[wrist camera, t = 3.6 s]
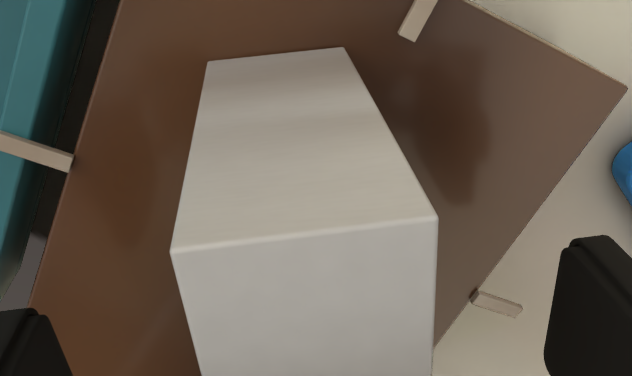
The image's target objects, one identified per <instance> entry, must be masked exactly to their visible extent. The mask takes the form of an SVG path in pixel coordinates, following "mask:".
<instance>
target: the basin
mask: <svg viewBox="0 0 632 376" xmlns="http://www.w3.org/2000/svg"><path fill="white" fill-rule="evenodd" d="M95 4H96V0H0V130H1V131H4V132H7V133H10V134H13V135H16V136H19V137H22V138H25V139H28V140H31V141H34V142H37V143H40V144H43V145H46V146H49V147H52V148H55V144H56V141H57V137H58V134H59V130H60V127H61V123H62V120H63V116H64V113H65V109H66V106H67V102H68V99H69V95H70V92H71V88H72V85H73V81H74V78H75V74H76V71H77V67H78V64H79V60H80V57H81V53H82V50H83V46H84V43H85V39H86V36H87V32H88V29H89V25H90V22H91V18H92V15H93V11H94V8H95ZM48 169H49V166H46V165H42V164H39V163H36V162H33V161H30V160H27V159H24V158H21V157H18V156H15V155H12V154H9V153H6V152H2V151H0V302H1V300H2V298H3V296H4V295H5V293H6V291H7V289H8V287H9V285H10V284H11V282H12V280H13V279H14V276H15V275H16V274H17V272H18V270H19V269H20V266H21V263H22V260H23V256H24V253H25V249H26V246H27V242H28V239H29V235H30V232H31V228H32V225H33V221H34V218H35V214H36V211H37V207H38V204H39V200H40V197H41V193H42V190H43V186H44V183H45V179H46V176H47V172H48Z"/></svg>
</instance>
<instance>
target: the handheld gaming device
mask: <svg viewBox="0 0 632 376" xmlns="http://www.w3.org/2000/svg"><path fill="white" fill-rule="evenodd" d="M612 173H613V176H614V179H615V180H616V182H617V183H618V185H619V187H620V188H621V190H622V192H623V193H624V195H625V196H626V198H627V200H628V201H629V203H630V205H631V206H632V142H630V143H629V144H627V145H626V146H625V147H624V148H623V149H621V150H620V151H619V153H618V154H617V156H616V157H615V159H614V161H613V164H612Z"/></svg>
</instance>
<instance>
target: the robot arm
mask: <svg viewBox="0 0 632 376" xmlns="http://www.w3.org/2000/svg"><path fill="white" fill-rule="evenodd" d="M544 361H545V365H546V368H547V370H548V372H549V374H550V375H551V376H632V258H631V257H630V256H629V255H628V254H627V253H626V252H625V251H624V250H623V249H622V248H621V247H620V246H619V245H618V244H617V243H616V242H615V241H614V240H613V239H611V238H610V237H609V236H606V235H600V236H592V237H584V238H576V239H573V240H572V241H571V242H570V245H569V247H568V248H564V249H563V250H562V252H561V256H560V262H559V267H558V273H557V279H556V284H555V290H554V296H553V301H552V307H551V313H550V318H549V324H548V330H547V335H546V341H545V347H544ZM0 376H73V374H72V372H71V369H70V367H69V365H68V362H67V360H66V358H65V355H64V353H63V350H62V348H61V346H60V343H59V341H58V339H57V336H56V334H55V331H54V329H53V327H52V324H51V322H50V320H49V318H48V316H46V315H43V314H42V315H39V314H38V312H37V311H36V310H35V309H34V308H24V309H16V310H8V311H1V312H0Z"/></svg>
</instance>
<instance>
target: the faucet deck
mask: <svg viewBox="0 0 632 376" xmlns="http://www.w3.org/2000/svg"><path fill="white" fill-rule="evenodd" d="M337 47H344V48H345V50H346V52H347V54H348V56H349V57H350V59H351V61H352V63H353V65H354V66H355V68H356V70H357V72H358V74H359V75H360V77H361V79H362V81H363V83H364V84H365V86H366V88H367V90H368V92H369V93H370V95H371V97H372V99H373V101H374V102H375V104H376V106H377V108H378V109H379V111H380V113H381V115H382V117H383V118H384V120H385V122H386V124H387V126H388V127H389V129H390V131H391V133H392V135H393V136H394V138H395V140H396V142H397V144H398V145H399V147H400V149H401V151H402V153H403V154H404V156H405V158H406V160H407V162H408V163H409V165H410V167H411V169H412V171H413V172H414V174H415V176H416V178H417V180H418V181H419V183H420V185H421V187H422V188H423V190H424V192H425V194H426V196H427V197H428V199H429V201H430V203H431V205H432V206H433V208H434V210H435V212H436V214H437V216H438V218H439V223H438V246H437V269H436V293H435V316H434V339H433V349H434V347H435V346H436V345H437V343H438V342H439V341H440V339H441V338H442V337H443V335H444V334H445V333H446V331H447V330H448V329H449V327H450V326H451V325H452V323H453V322H454V321H455V319H456V318H457V317H458V315H459V314H460V313H461V311H462V310H463V309H464V307H465V306H466V305H467V303H468V302H469V301H471V303H472V304H473V305H476V306H479V307H482V308H485V309H488V310H492V311H495V312H498V313H501V314H504V315H507V316H510V317H513V318H516V317H517V316H518V314H519V313H520V312H521V311H522V309H523V308H522V306H521V305H520V304H517V303H514V302H511V301H508V300H505V299H502V298H499V297H496V296H493V295H490V294H487V293H484V292H481V291H478V289H479V287H480V286H481V285H482V283H483V282H484V281H485V279H486V278H487V277H488V275H489V274H490V273H491V271H492V270H493V269H494V267H495V266H496V265H497V263H498V262H499V261H500V259H501V258H502V257H503V255H504V254H505V253H506V251H507V250H508V249H509V247H510V246H511V245H512V243H513V242H514V241H515V239H516V238H517V237H518V235H519V234H520V233H521V231H522V230H523V229H524V227H525V226H526V225H527V223H528V222H529V221H530V219H531V218H532V217H533V215H534V214H535V213H536V212H537V210H538V209H539V208H540V206H541V205H542V204H543V202H544V201H545V200H546V198H547V197H548V196H549V194H550V193H551V192H552V190H553V189H554V188H555V186H556V185H557V184H558V182H559V181H560V180H561V178H562V177H563V176H564V174H565V173H566V172H567V170H568V169H569V168H570V166H571V165H572V164H573V162H574V161H575V160H576V158H577V157H578V156H579V154H580V153H581V152H582V150H583V149H584V148H585V146H586V145H587V144H588V142H589V141H590V140H591V138H592V137H593V136H594V134H595V133H596V132H597V130H598V129H599V128H600V126H601V125H602V124H603V122H604V121H605V120H606V118H607V117H608V116H609V114H610V113H611V112H612V110H613V109H614V108H615V106H616V105H617V104H618V102H619V101H620V100H621V98H622V97H623V96H624V94H625V93H626V92H627V90H628V88H627V86H626V85H624V84H623V83H621V82H619V81H617V80H616V79H614V78H612V77H610V76H608V75H607V74H605V73H603V72H601V71H600V70H598V69H596V68H594V67H592V66H591V65H589V64H587V63H585V62H584V61H582V60H580V59H578V58H577V57H575V56H573V55H571V54H569V53H568V52H566V51H564V50H562V49H561V48H559V47H557V46H555V45H553V44H551V43H549V42H547V41H545V40H543V39H542V38H540V37H538V36H536V35H534V34H532V33H530V32H528V31H526V30H525V29H523V28H521V27H519V26H517V25H515V24H513V23H511V22H509V21H507V20H506V19H504V18H502V17H500V16H498V15H496V14H494V13H492V12H490V11H488V10H487V9H485V8H483V7H481V6H479V5H477V4H475V3H473V2H471V1H470V0H120V1H119V4H118V8H117V11H116V14H115V18H114V21H113V24H112V27H111V31H110V34H109V37H108V41H107V44H106V47H105V51H104V54H103V57H102V60H101V64H100V67H99V70H98V74H97V77H96V80H95V83H94V87H93V90H92V93H91V97H90V100H89V103H88V107H87V110H86V113H85V116H84V120H83V123H82V126H81V130H80V133H79V136H78V140H77V143H76V146H75V149H74V153H73V154H70V153H67V152H64V151H61V150H58V149H55V148H52V147H49V146H46V145H43V144H40V143H37V142H34V141H31V140H28V139H25V138H22V137H19V136H16V135H13V134H10V133H7V132H4V131H1V130H0V151H2V152H6V153H9V154H12V155H15V156H18V157H21V158H24V159H27V160H30V161H33V162H36V163H39V164H42V165H46V166H49V167H52V168H55V169H58V170H61V171H64V172H67V176H66V179H65V182H64V186H63V189H62V192H61V196H60V199H59V202H58V205H57V209H56V212H55V215H54V219H53V222H52V225H51V229H50V232H49V235H48V238H47V242H46V245H45V248H44V252H43V255H42V258H41V262H40V265H39V268H38V271H37V275H36V278H35V281H34V285H33V288H32V291H31V295H30V298H29V301H28V305H27V308H34V309H35V310H36V311H37V312H38V314H39V315H42V314H43V315H46V316H48V318H49V320H50V322H51V324H52V327H53V329H54V331H55V334H56V336H57V339H58V341H59V343H60V346H61V348H62V350H63V353H64V355H65V358H66V360H67V362H68V365H69V367H70V369H71V372H72V374H73V376H202V375H201V371H200V368H199V364H198V360H197V356H196V352H195V348H194V344H193V341H192V337H191V333H190V329H189V325H188V321H187V317H186V314H185V310H184V306H183V302H182V298H181V294H180V290H179V287H178V283H177V279H176V275H175V271H174V267H173V263H172V260H171V256H170V247H171V242H172V237H173V232H174V227H175V222H176V217H177V212H178V207H179V202H180V197H181V192H182V187H183V182H184V177H185V172H186V167H187V162H188V157H189V152H190V147H191V142H192V137H193V132H194V127H195V122H196V117H197V112H198V107H199V102H200V97H201V92H202V87H203V82H204V77H205V72H206V67H207V63H208V62H209V61H215V60H225V59H234V58H244V57H253V56H262V55H272V54H281V53H290V52H300V51H309V50H319V49H328V48H337ZM476 291H477V292H476ZM473 295H474V296H473ZM470 299H471V300H470Z"/></svg>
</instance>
